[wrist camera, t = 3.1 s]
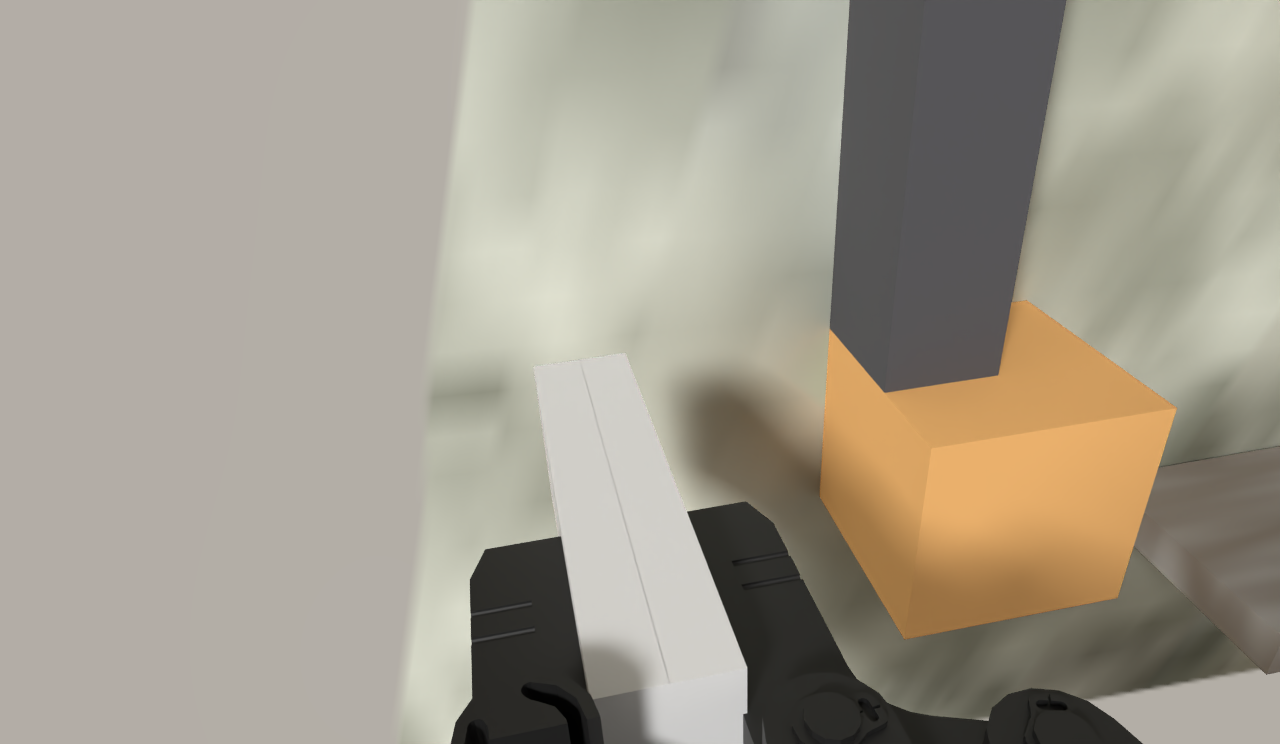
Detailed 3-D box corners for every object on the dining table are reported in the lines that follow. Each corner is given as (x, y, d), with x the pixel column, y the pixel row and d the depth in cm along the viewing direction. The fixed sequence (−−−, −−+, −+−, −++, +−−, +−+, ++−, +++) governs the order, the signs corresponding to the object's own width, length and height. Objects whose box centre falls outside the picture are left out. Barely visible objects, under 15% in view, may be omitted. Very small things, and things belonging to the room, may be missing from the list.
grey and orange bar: (879, -501, 13) (1094, -706, 8) (1179, -505, 13) (1523, -696, 9) (818, 495, 22) (904, 639, 18) (994, 466, 23) (1117, 598, 18)
